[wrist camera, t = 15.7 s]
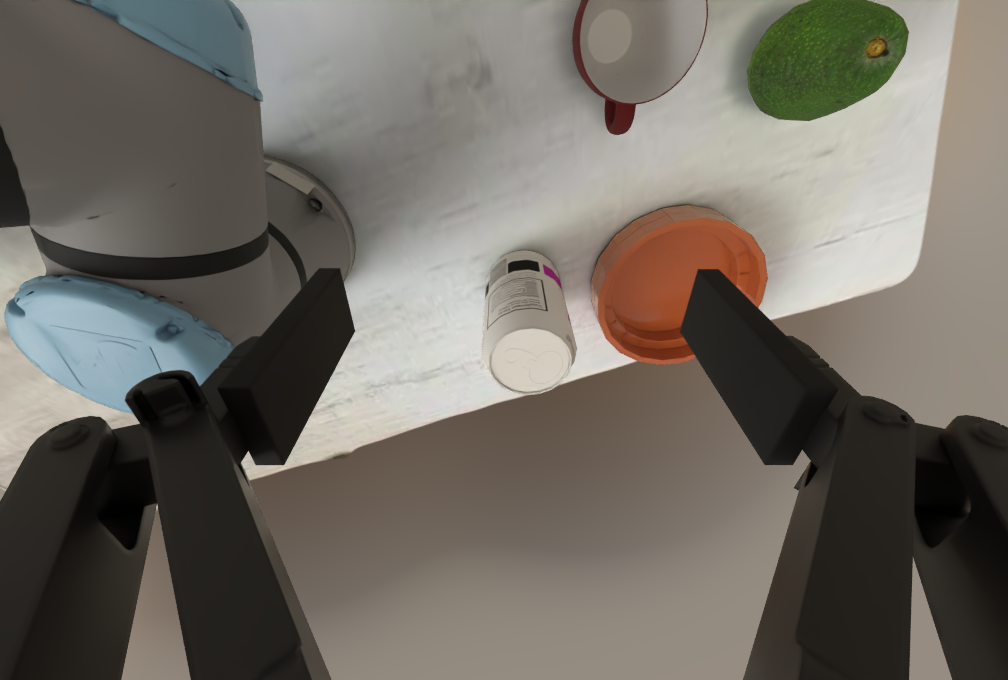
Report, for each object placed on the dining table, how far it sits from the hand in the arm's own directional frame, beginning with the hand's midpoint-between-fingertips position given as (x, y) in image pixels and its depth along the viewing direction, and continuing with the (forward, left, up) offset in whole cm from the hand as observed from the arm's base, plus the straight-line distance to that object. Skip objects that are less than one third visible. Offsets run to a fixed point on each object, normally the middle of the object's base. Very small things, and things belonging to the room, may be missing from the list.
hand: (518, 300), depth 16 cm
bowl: (+20, -10, -29) cm, 36 cm away
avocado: (+21, +11, -29) cm, 37 cm away
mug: (+7, +9, -29) cm, 31 cm away
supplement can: (+4, -13, -29) cm, 32 cm away
